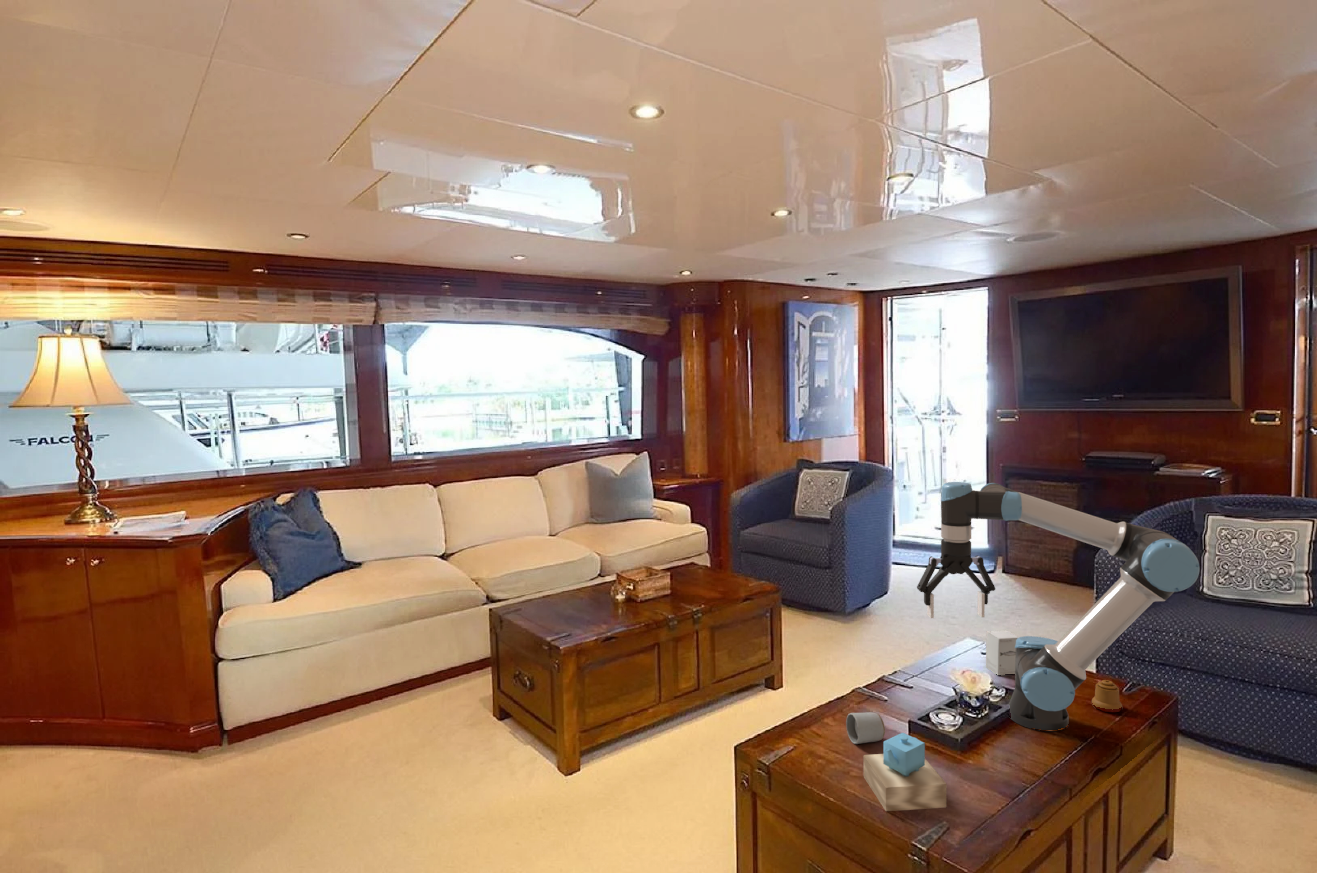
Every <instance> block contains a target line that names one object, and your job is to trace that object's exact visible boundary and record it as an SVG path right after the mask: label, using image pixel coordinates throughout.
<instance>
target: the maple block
mask: <svg viewBox="0 0 1317 873" xmlns="http://www.w3.org/2000/svg"><path fill="white" fill-rule="evenodd" d="M883 758H884V753H878V754H875V753H874V754H863V778H864V780H865V781H866V783H867V784H868V786H869V787H870V789H871V790H872V792H873V793H874V796H876V798H877V800H878V802H879V803H880V805H881V806H882V807H883V810H884V811H885V812H894V811H896V812H897V811H910V810H911V811H912V810H926V809H940V808H947V782H946V781H945V780H944V779H943V777H941V775H940V774H939V773H938V772H937V771H936V770H935V768H934V767H933V765H931V764H930V763H929V761H928V760H927V759H926V758H925V765H924V766H922V767H921V768H919V771H913V772H911V773H909V776H903V775H902V773H900V772H898V771H896V770H894V769H890V768H889V767H888V766H887V765H885V764H883Z"/></svg>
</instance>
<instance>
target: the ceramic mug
mask: <svg viewBox="0 0 1317 873" xmlns="http://www.w3.org/2000/svg"><path fill="white" fill-rule="evenodd" d="M845 727H846V731H847V736H848V738H849V740H850V741H851V743H852V744H855V745H858V744H867V743H874V742H879V741H881V740H883V738H884V736H885V732H886V729H885V728H886V726H885V723H884V721H883V718H882V717H881V715H879V713H877V712H869V711H867V712H850V713H848V714H847V716H846V721H845Z"/></svg>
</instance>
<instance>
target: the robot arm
mask: <svg viewBox="0 0 1317 873" xmlns="http://www.w3.org/2000/svg"><path fill="white" fill-rule="evenodd" d="M940 496H941V497H940V502H941V503H940V507H941V509H940V513H941V514H940V515H941V516H940V517H941V518H940V520H941V521H940V522H941V526H940V527H941V531H940V537H941V538H942V539H941V540H940V553H941V555H940V557H939V558H938V557H934V556H929V557H928V564H927V567H926V568H925V570H924V571H923V574H922V576H921V578H920V580H919V581H918V584H917V585H916V589H917V590H918V591H919V592H920V593H923V603H924V605H925V606H926V607H927V608H926V609H927V610H926V611H927V614H926V615H927V616H928V617H929V618H930V619H935V618H934V617H935V616H934V615H935V614H934V613H935V611H934V610H935V606H934V605H935V599H934V597H935V594H933V592H934V590H935V589H936V588H937V586H938V585H939V584H940V583H941V582H942V581H943V579H945V577H947V576H948V575H949V574H951V575H957V574H958V575H964V573H965V574H966V575H967V576H968V578H970V579H971V581H972V582H973V583H974V584H975V585H976V586H977V587H978V589H979V590H977V615H978V616H979V617H981V618H985V612H986V611H985V606H986V605H988V603H989V594H990V593H991V592H995V591H996V586H995V584H994V582H993V581H992V579H991V576H990V575H989V572H988V571H987V568H986V567H985V563H984V558H983V557H982V556H979V555H975V556H974V557H972V542H971V539H972V519H975V520H994V521H995V520H997V521H1005V522H1008V521H1019V522H1023V523H1027V524H1029V525H1031V526H1036V527H1037V528H1041V529H1043V530H1047V531H1050V532H1053V533H1056V534H1059V535H1061V536H1064V537H1067V538H1070V539H1073V540H1077V541H1078V542H1079V541H1080V542H1082V543H1084V544H1085V543H1086V544H1088V545H1090V546H1091V545H1092V546H1095V547H1097V548H1100V549H1103V550H1106V551H1107V552H1108V554H1109V555H1110V556H1113V557H1115V558H1117V559H1120V560H1122V561H1124V562H1125V563H1123V564H1122V565H1121V566H1120V568H1119V572H1120V577H1119V578H1118V579H1117V581H1115V582H1114V583H1113V585H1111V587H1109V589H1107V591H1106V592H1104V594H1102V596H1101V597H1100V598H1099V599H1098V600H1097V601H1096V602H1095V603H1094V604H1093V605H1091V607H1090V608H1089V609H1088V610H1087V611H1086V613H1084V614H1083V615H1082V617H1080V619H1078V621H1077V622H1076V623H1075V624H1074V625H1073V626H1071V627H1070V628H1069V629H1068V631H1067V632H1066V633H1065V634H1064V635H1063V636H1062V637H1061V638H1060V639H1059V640H1055V639H1052V638H1049V637H1041V636H1034V635H1033V636H1032V635H1027V636H1026V635H1025V636H1020V637H1019V636H1018V637H1019V638H1017V640H1016V645H1015V648H1016V654H1015V675H1014V690H1013V692H1012V695H1011V697H1010V700H1009V702H1008V705H1010V713H1011V718H1010V720H1012V721H1013V722H1015V723H1016V724H1017V725H1020V726H1021V727H1025V728H1026V729H1027V728H1028V729H1031V728H1035V729H1041V730H1058V729H1061V728H1065V727H1066V726H1067V725H1068V724H1069V723H1070V721H1069V719H1070V718H1069V713H1068V711H1067V708H1068V707H1069V706H1070V705H1071V704H1072V703H1073V701H1074V699H1075V697H1076V696H1075V695H1076V690H1077V689H1078V688H1079V687H1080V686H1081V685H1082V684H1083V682H1085V680H1087V675H1086V670H1087V669H1088V668H1089V667H1090V666H1091V665H1092V664H1093V663H1094V662H1095V661H1096V660H1097V659H1098V658H1099V657H1100V656H1101V655H1102V654H1103V653H1104V652H1105V651H1106V650H1107V649H1108V648H1109V647H1110V646H1111V645H1112V644H1113V643H1114V642H1115V641H1116V640H1117V639H1118V638H1119V637H1120V636H1121V635H1122V634H1123V633H1124V632H1125V631H1126V630H1127V629H1128V628H1129V627H1130V626H1131V625H1132V624H1133V623H1134V622H1135V621H1136V620H1137V619H1138V618H1140V616H1142V614H1143V613H1144V612H1145V611H1146V610H1147V609H1148V608H1149V607H1150V606H1151V605H1152V604H1153V603H1155V602H1165V601H1167V600H1168V599H1169V598H1170V597H1171V596H1172V595H1173V594H1174V593H1178V592H1182V591H1184V590H1186V589H1189V588H1190V587H1192V586H1193V585H1194V584H1195V583H1196V582H1197V579H1198V578H1199V576H1200V575H1199V574H1200V563H1199V560H1198V558H1197V556H1196V554H1195V553H1194V551H1193V550H1191V548H1190V547H1189V546H1188V545H1186V544H1185V543H1183V542H1182V541H1180V540H1178V539H1177V538H1175V537H1174V536H1172V535H1171V534H1169V533H1167V532H1164V531H1162V530H1157V529H1153V528H1148V527H1146V526H1145V527H1144V526H1141V525H1136V524H1133V523H1129V522H1126V521H1120V522H1114V521H1111V520H1107V519H1104V518H1101V517H1099V516H1095V515H1092V514H1088V513H1087V512H1082V511H1079V510H1077V509H1073V508H1070V507H1067V506H1063V505H1060V504H1057V503H1054V502H1051V501H1049V500H1045V499H1042V498H1039V497H1036V496H1032V495H1030V494H1026V493H1022V492H1020V491H1016V490H1013V489H1010V488H1008V487H1005V486H1003V485H1002V484H999V483H995V482H991V483H990V482H989V483H987V484H985V485H983V486H982V488H980V490H973V488H972V485H971V484H970V483H969V482H963V481H961V482H960V481H949V482H948V481H947V482H945V483H944V484H942V486H941V495H940ZM939 564H940V565H941V566H940V568H939V569H938V571H937V572H936V574H935V575H934V576H933V574H934V572H935V570H936V568H937V566H939ZM973 564H974V565H975V566H976V568H977V570H978V571H979V574H980V575H981V578H982V580H983V582H984V583H985V584H984V583H983V582H982V581H981V580H980V579H979V577H978V576H977V575H976V574H975V573H974V572H973V570H972V569H971V568H970V566H971V565H973ZM932 576H933V577H932ZM1069 725H1070V724H1069ZM1069 725H1068V726H1069ZM1035 729H1034V730H1035Z"/></svg>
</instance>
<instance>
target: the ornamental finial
mask: <svg viewBox="0 0 1317 873" xmlns="http://www.w3.org/2000/svg"><path fill="white" fill-rule="evenodd" d="M1094 689H1095V690H1094V697H1092V699H1091V704H1092V703H1093V704H1092V706H1093V705H1095V706H1096V707H1100V708H1105V709H1112V710H1113V709H1119V708H1121V707H1122V708H1123V704H1122V702H1121V701H1120V688H1119V687H1118V686H1117V685H1116V684H1115V682H1113V681H1111V680H1110V679H1109V680H1108V679H1102V681H1098V682H1097V683H1095V688H1094Z"/></svg>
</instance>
